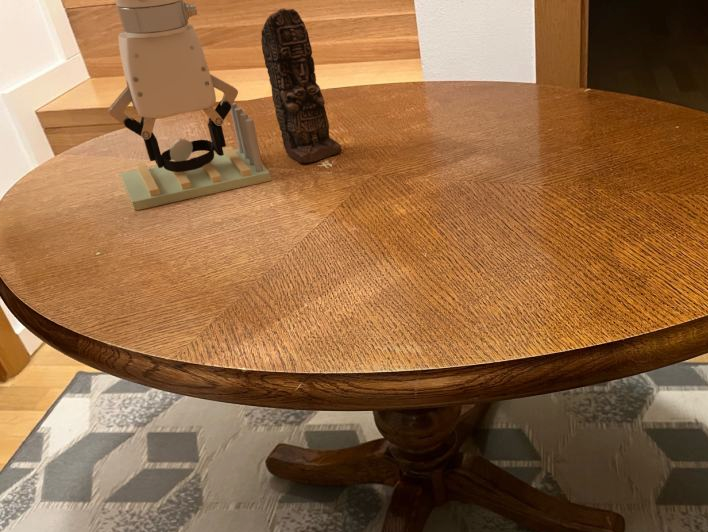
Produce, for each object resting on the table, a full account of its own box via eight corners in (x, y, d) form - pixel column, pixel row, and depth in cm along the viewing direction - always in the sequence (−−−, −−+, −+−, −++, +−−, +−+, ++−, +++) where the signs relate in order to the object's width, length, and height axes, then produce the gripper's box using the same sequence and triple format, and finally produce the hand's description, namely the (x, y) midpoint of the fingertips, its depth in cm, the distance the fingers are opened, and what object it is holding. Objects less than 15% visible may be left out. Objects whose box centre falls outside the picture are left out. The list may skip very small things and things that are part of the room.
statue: (304, 166, 104) (278, 15, 93) (278, 154, 109) (250, 9, 98) (343, 153, 108) (323, 6, 97) (316, 143, 113) (294, 1, 101)
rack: (134, 210, 94) (115, 148, 89) (122, 181, 103) (103, 123, 98) (271, 180, 100) (259, 121, 96) (248, 155, 109) (237, 99, 105)
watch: (204, 153, 104) (198, 128, 102) (225, 159, 101) (219, 133, 99) (157, 171, 99) (149, 144, 97) (177, 177, 96) (170, 151, 94)
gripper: (217, 6, 96) (245, 139, 106) (75, 23, 89) (119, 163, 99) (231, 14, 90) (259, 153, 100) (80, 34, 84) (126, 181, 94)
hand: (189, 157), depth 100 cm, fingers closed on watch, 7 cm apart
